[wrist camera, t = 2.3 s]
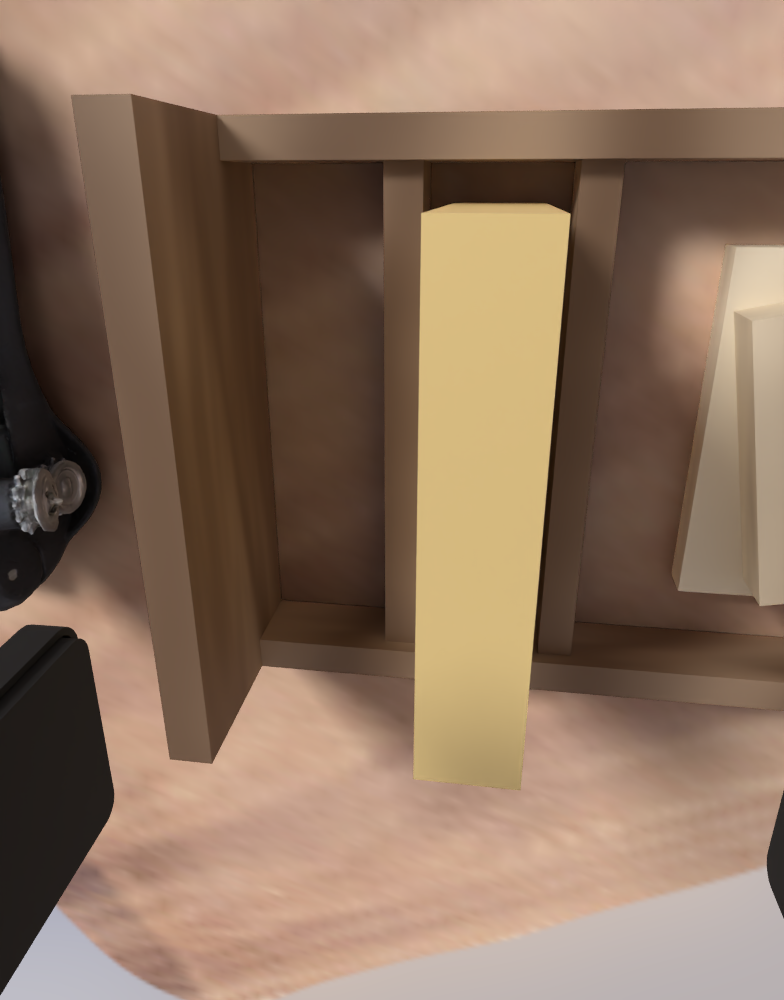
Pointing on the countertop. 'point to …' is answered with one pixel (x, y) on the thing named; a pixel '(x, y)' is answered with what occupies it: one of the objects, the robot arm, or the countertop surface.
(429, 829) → the countertop surface
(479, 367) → the panel
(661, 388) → the countertop surface
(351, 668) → the rack
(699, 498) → the offcut lower
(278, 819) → the countertop surface
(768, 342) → the offcut upper
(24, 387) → the can opener
